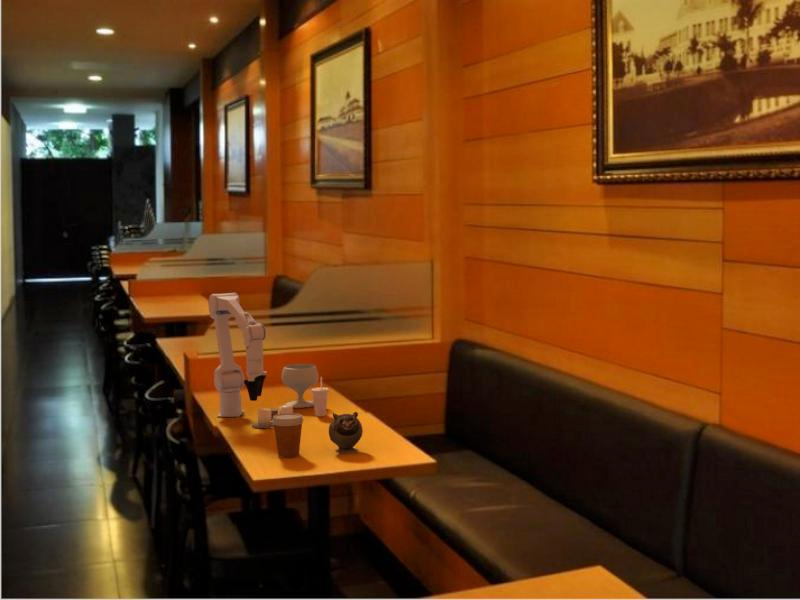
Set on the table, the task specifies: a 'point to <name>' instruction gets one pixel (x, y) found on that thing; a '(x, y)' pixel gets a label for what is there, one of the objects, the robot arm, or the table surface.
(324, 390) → the smoothie
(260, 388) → the robot arm
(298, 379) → the chalice
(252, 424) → the slate coaster
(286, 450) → the disposable coffee cup
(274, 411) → the walnut block
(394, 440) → the table surface
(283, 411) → the cream small rounded lump
